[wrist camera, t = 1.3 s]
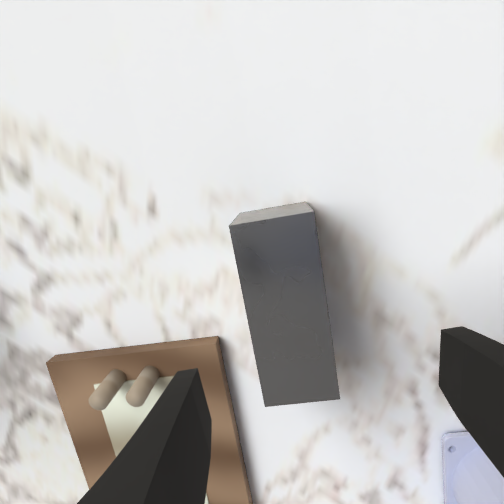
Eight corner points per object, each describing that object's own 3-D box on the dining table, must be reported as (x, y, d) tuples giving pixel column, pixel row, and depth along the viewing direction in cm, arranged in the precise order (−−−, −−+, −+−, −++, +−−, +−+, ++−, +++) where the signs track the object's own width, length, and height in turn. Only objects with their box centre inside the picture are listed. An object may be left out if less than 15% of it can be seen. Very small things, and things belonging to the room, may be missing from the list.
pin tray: (256, 520, 26) (253, 572, 22) (113, 527, 27) (89, 578, 24) (218, 336, 22) (207, 365, 19) (55, 355, 23) (17, 385, 20)
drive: (326, 348, 22) (340, 399, 17) (267, 356, 22) (264, 406, 18) (305, 201, 20) (314, 211, 15) (240, 212, 20) (228, 225, 15)
